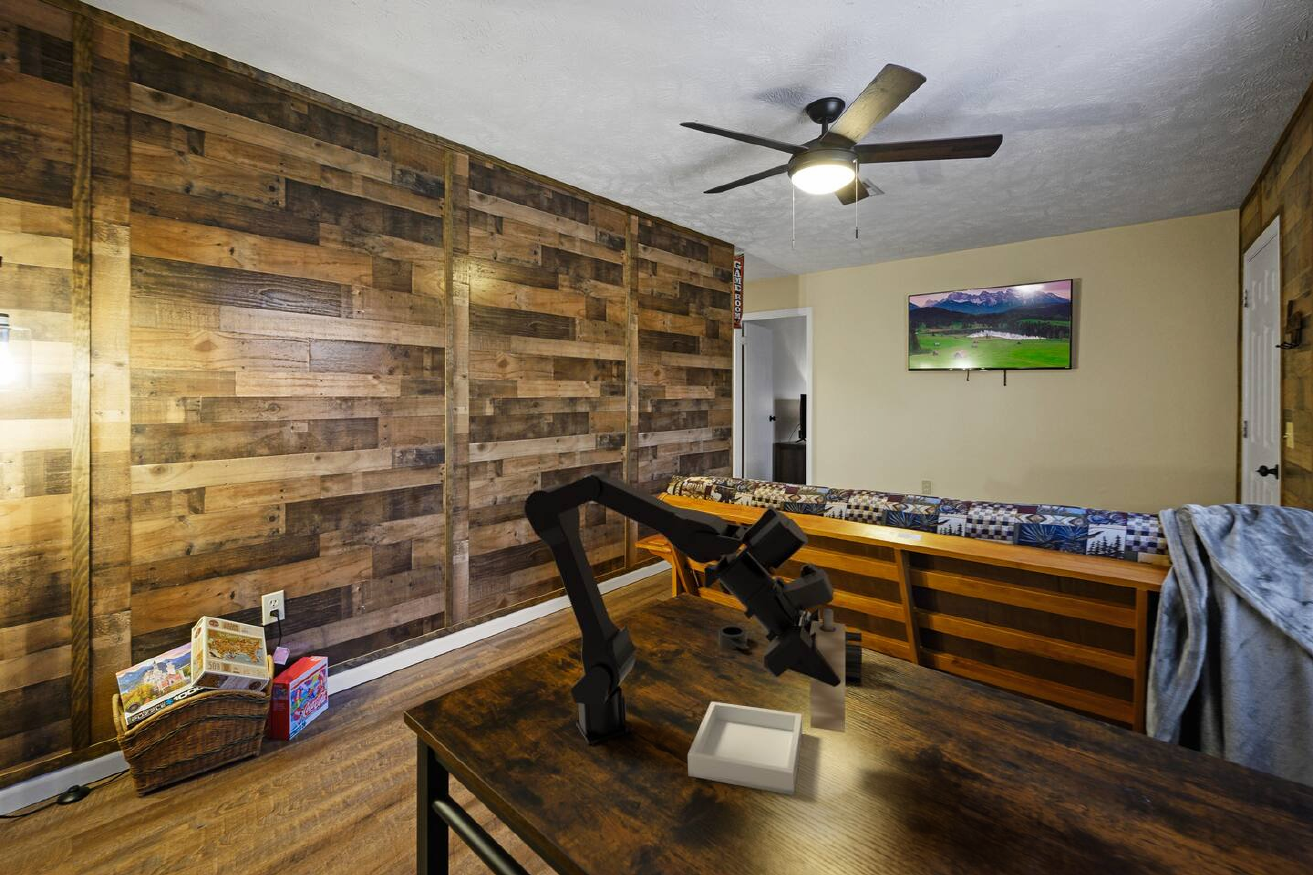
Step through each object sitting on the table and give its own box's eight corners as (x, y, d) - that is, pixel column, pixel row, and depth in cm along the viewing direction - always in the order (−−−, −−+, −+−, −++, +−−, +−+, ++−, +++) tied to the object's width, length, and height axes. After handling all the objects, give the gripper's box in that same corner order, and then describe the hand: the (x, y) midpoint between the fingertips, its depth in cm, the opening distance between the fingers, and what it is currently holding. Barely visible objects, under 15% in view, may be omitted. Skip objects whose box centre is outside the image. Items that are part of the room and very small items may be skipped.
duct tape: (711, 654, 114) (710, 640, 114) (717, 633, 124) (716, 620, 124) (750, 656, 113) (749, 642, 113) (752, 635, 122) (752, 622, 122)
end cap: (823, 657, 111) (822, 623, 110) (862, 662, 108) (861, 627, 108) (818, 682, 102) (818, 645, 101) (861, 688, 99) (860, 650, 99)
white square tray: (688, 775, 78) (687, 754, 78) (711, 719, 91) (711, 701, 91) (793, 795, 73) (792, 773, 73) (802, 733, 87) (801, 714, 86)
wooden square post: (810, 727, 77) (809, 615, 76) (812, 709, 81) (811, 603, 80) (844, 732, 75) (844, 618, 74) (845, 714, 80) (845, 606, 78)
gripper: (790, 572, 69) (888, 673, 66) (802, 535, 86) (880, 613, 84) (726, 629, 72) (818, 727, 69) (751, 581, 90) (824, 658, 87)
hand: (838, 675), depth 77 cm, fingers closed on wooden square post, 4 cm apart
